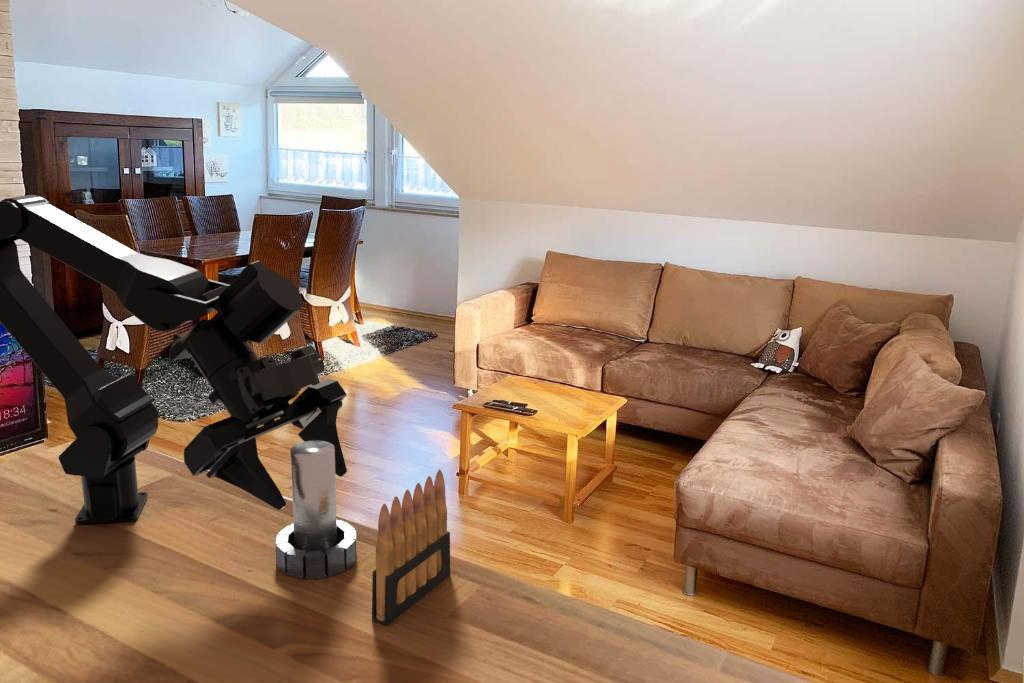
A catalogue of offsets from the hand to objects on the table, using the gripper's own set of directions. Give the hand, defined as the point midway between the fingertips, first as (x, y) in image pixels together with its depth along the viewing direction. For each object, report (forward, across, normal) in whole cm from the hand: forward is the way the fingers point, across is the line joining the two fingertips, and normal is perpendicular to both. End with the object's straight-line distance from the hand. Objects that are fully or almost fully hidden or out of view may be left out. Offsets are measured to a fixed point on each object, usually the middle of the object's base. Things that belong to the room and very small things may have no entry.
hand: (314, 490), depth 89 cm
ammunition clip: (+15, 0, -3) cm, 15 cm away
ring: (+6, 0, +6) cm, 8 cm away
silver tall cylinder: (+6, 0, +6) cm, 8 cm away
